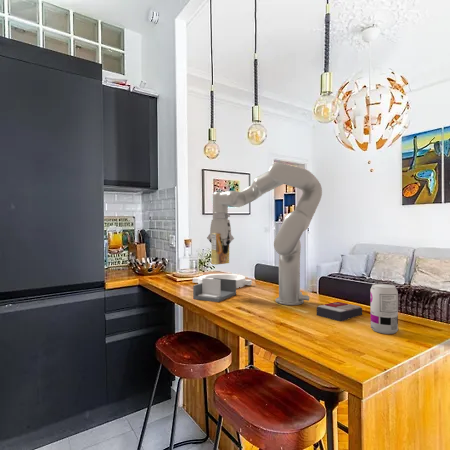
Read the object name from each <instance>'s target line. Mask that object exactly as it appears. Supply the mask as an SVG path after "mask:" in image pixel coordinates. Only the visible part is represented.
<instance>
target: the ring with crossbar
mask: <svg viewBox="0 0 450 450" xmlns="http://www.w3.org/2000/svg"><path fill="white" fill-rule="evenodd" d="M202 278H207V279H213V278H221V279H232V280H236V289H240V288H243V287H245V286H252V284H253V280H252V279H246V276H245V275H242V274H239V273H238V274H236V273H209V274H204V275H203V274H202V275H199V276H198V277H196V276H195V277H193V278H192V284H193V283H195V284H200V283H202ZM239 287H240V288H239Z"/></svg>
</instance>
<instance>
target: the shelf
mask: <svg viewBox="0 0 450 450" xmlns="http://www.w3.org/2000/svg"><path fill="white" fill-rule="evenodd" d="M192 289H193V290H192V291H193V292H192V296H193V297H192V298H193V300H198V301H199V300H200V301H204V302H205V301H207V302H214V303H220V302H222V301H224V300H227V299H230V298H232V297H234V296H236V295H237V288H236V280H232V279H221V278H213V279H207V278H202V283H200V284H198V283H195V284H194V285H193V286H192Z"/></svg>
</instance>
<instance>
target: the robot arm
mask: <svg viewBox="0 0 450 450" xmlns="http://www.w3.org/2000/svg"><path fill="white" fill-rule="evenodd" d="M282 185H286V186H289V187H293V188H296V189H299V190H301V191H302V194H301V196H300V198H299V200H298V202H297V204H296V206H295V208H294V211H291V212H289V213H287V215H286V216H285V217H284V219H283V221H282V223H281V225H280V228H279V230H278V232H277V233H276V236H275V238H274V241H273V249H274V250H275V252H276V254H277V253H278V254H279V255H278V297H276V298H275V302H276V303H277V304H280V305H285V306H298V305H302V304H304V302H305V301H307V302H308V301H310V295H309V296H308V295H307V294H306V295H305V294H303V292H302V291H301V251H302V250H301V248H302V247H301V245H302V244H301V240H300V239H301V237H302V235H303V233H304V232H305V231H307V230H308V228H309V226H310V224H311V221H312V220H313V217H314V215H315V213H316V210H317V209H318V206H319V204H320V202H321V199H322V195H323V188H322V185H321V183H320V181H319V179H318V178H317V177H316V176H315V175H314V173H312V172H311V171H310V170H308V169H306V168H301V167H299V166H294V165H290V164H287V163H283V162H275V163H273V164H271V166H270V167H269V168H268V171H266V172H264V173H262V174H260V175H259V176H257V177H255V178H254V179H253V182H252V184H251V185H250V186H248V187H246V188H244V189H242V190H241V191H236V190H228V191H227V190H226V191H215V192H214V193H213V194H212V219H211V222H210V226H209V227H210V229H209V234H208V236H207V237H206V239H207V240H208V241H209V243H211V239H212V238H211V237H212V233H219V234H220V236H221V239H222V240H223V241H224V246H223V253H224V254H226V253H228V245H229V246H230V244H231V243H232V242H233V241H234V239H235V237H234V236H233V235H232V228H231V221H230V219H229V218H230V217H231V214H229V213H228V212H229V211H228V210H229V208H228V207H229V206H230V207H235V208H240V207H244V206H246V205H248V204H250V203H252V202H254V201H256V200H257V199H258V198H260V197H262V196H263V195H264V194H266V193H268V192H270V191H273V190H274V189H277V188H278V187H281V186H282ZM228 239H229V240H228Z"/></svg>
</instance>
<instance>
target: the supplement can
mask: <svg viewBox="0 0 450 450" xmlns="http://www.w3.org/2000/svg"><path fill="white" fill-rule="evenodd" d="M398 292H399V291H398V288H397V287H396V285H394V284H389V283H386V284H385V283H374V284H373V283H372V285H371V288H370V292H369V293H370V328H371V329H372V330H373V332H375V333H379V334H383V335H393V334H396V333H397V332H398V331H399V300H398V299H399V293H398Z"/></svg>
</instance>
